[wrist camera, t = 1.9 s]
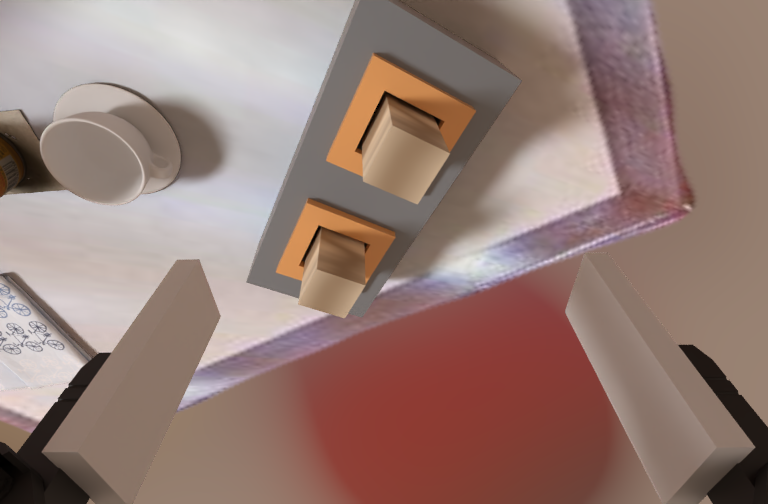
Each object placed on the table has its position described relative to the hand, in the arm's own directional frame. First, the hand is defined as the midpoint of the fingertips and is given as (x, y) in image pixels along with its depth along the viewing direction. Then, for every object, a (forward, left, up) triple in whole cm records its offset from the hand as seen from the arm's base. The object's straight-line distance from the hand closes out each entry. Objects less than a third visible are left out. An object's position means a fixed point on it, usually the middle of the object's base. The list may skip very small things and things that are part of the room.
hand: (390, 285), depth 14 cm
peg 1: (+2, -13, -19) cm, 23 cm away
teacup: (-18, -14, -25) cm, 33 cm away
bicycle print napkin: (-29, -48, -25) cm, 61 cm away
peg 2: (+2, -1, -19) cm, 19 cm away
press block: (+2, -7, -24) cm, 25 cm away
